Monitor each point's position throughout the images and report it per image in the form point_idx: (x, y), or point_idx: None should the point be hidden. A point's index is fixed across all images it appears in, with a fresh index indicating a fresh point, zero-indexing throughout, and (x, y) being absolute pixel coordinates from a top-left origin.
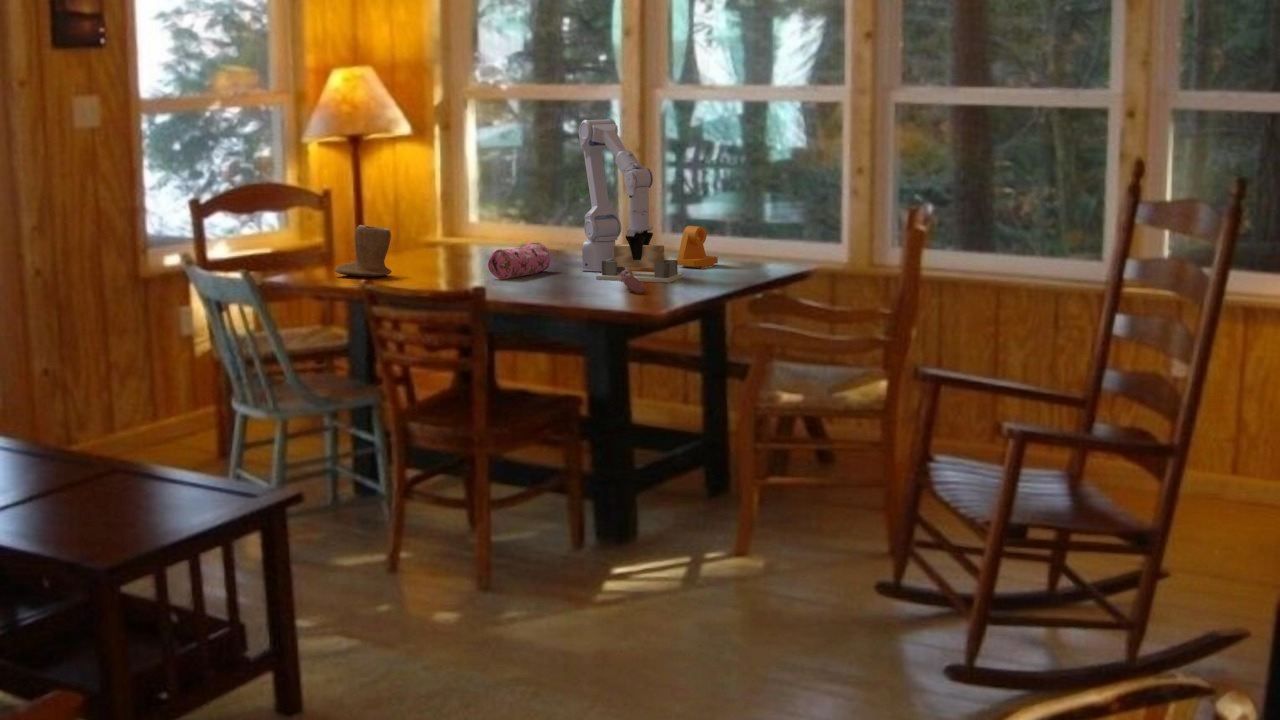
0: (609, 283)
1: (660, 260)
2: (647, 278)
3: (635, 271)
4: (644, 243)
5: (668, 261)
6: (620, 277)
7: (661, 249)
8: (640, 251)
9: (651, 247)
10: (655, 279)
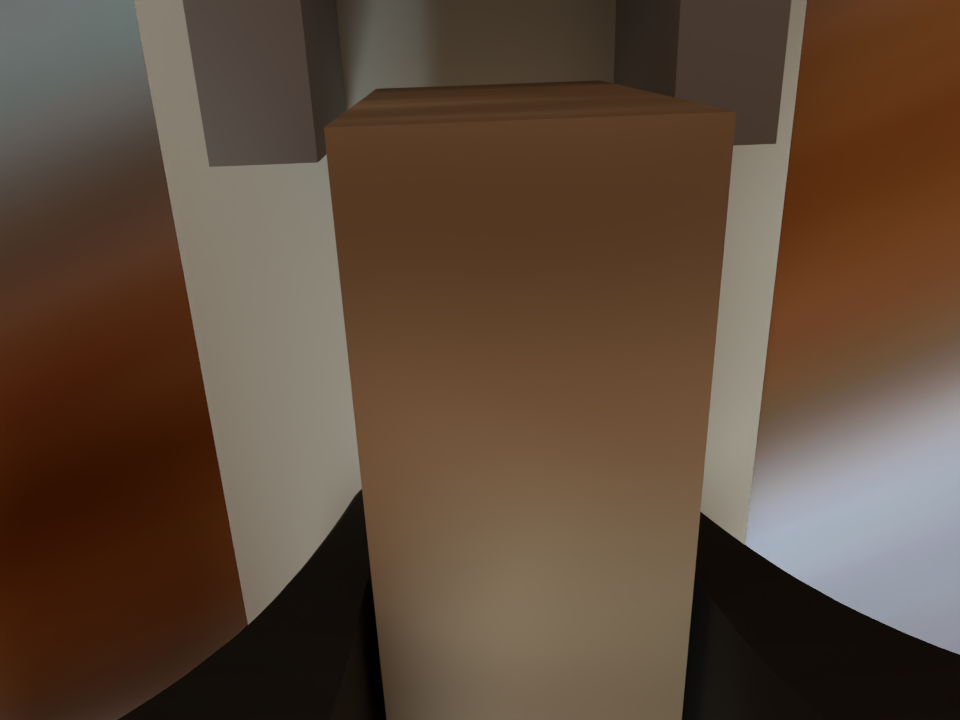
0: (955, 528)
1: (605, 87)
2: (781, 188)
3: (250, 561)
4: (362, 707)
5: (305, 19)
6: (745, 530)
7: (561, 111)
8: (739, 545)
9: (705, 372)
10: (791, 60)
